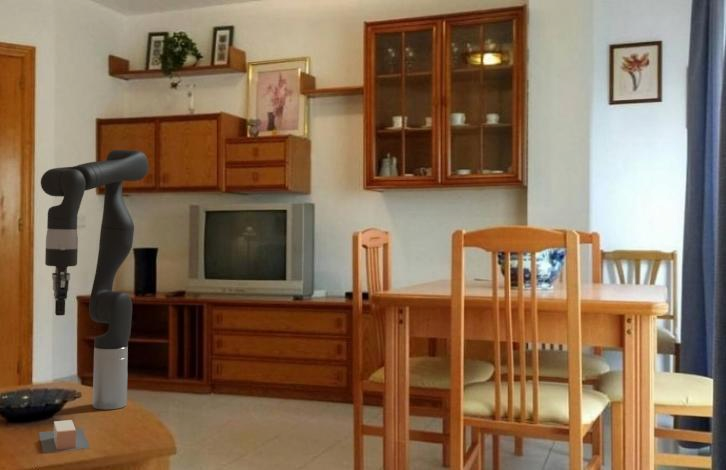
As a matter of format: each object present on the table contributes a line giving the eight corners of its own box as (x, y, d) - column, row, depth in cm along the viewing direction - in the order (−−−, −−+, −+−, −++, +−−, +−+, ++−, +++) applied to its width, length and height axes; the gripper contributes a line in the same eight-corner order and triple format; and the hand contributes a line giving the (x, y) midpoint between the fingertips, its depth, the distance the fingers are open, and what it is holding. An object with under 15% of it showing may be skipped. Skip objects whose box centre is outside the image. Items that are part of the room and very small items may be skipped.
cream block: (54, 421, 170) (57, 432, 161) (71, 419, 172) (76, 430, 163) (53, 438, 170) (56, 449, 161) (71, 436, 172) (75, 447, 163)
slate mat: (38, 434, 175) (38, 432, 175) (81, 430, 179) (81, 428, 179) (43, 455, 159) (43, 453, 159) (90, 450, 163) (90, 448, 163)
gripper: (44, 246, 184) (42, 312, 184) (47, 247, 172) (45, 318, 172) (74, 246, 188) (73, 311, 188) (80, 248, 176) (78, 317, 176)
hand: (59, 315), depth 180 cm, fingers closed
